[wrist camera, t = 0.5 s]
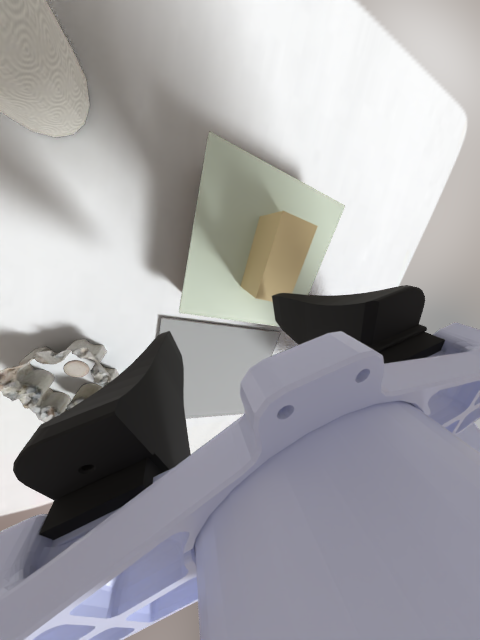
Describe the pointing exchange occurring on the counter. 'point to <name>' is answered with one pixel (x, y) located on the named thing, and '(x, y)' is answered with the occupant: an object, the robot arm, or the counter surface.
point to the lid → (252, 236)
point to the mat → (217, 363)
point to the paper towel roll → (39, 71)
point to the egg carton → (36, 382)
